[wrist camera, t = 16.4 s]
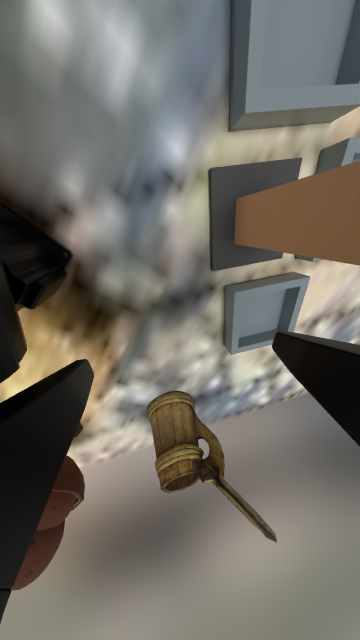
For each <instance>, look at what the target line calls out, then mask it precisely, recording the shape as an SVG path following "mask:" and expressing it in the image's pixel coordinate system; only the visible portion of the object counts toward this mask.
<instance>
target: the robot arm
mask: <svg viewBox="0 0 360 640" xmlns="http://www.w3.org/2000/svg"><path fill="white" fill-rule="evenodd" d="M63 252H66V253H67V254H68V257H66V256H64V254H63ZM71 258H72V253H71V251H70V250H69V249H67V248H66V247H64V246H63V245H61V244H60V243H58V242H57V241H55V240H54V239H52V238H51V237H49V236H48V235H47V234H45V233H44V232H42V231H41V230H39V229H38V228H36V227H35V226H33V225H32V224H30V223H29V222H27V221H26V220H25V219H23V218H22V217H20V216H19V215H17V214H16V213H14V212H13V211H11V210H10V209H8V208H7V207H5V206H4V205H3V204H1V203H0V383H1V382H3V381H4V380H6V379H7V378H9V377H10V376H11V375H12V374H13V373H15V372H16V371H17V370H18V369H19V368H20V366H19V362H20V361H21V360H22V358H23V356H24V355H25V353H26V351H27V344H26V339H25V336H24V332H23V329H22V325H21V322H20V318H19V315H18V312H17V311H19V310H20V309H22V308H23V307H25V308H27V309H35V308H36V307H37V306H39V305H40V304H41V303H43V302H44V301H45V300H47V299H48V298H49V297H51V296H52V295H54V294H55V293H56V291H57V290H58V288H59V287H60V285H61V283H62V282H63V280H64V278H65V277H66V272H65V271H64V270H65V268H66V266H67V265H68V263H69V262H70V260H71ZM272 348H273V350H274V352H275V353H276V354H277V356H278V357H279V358H280V359H281V361H282V362H283V363H284V365H285V366H286V367H287V369H288V370H289V371H290V372H291V373H292V375H293V376H294V377H295V378H296V379H297V380H298V381H299V382H300V383H301V384H302V385H303V386H304V387H305V389H306V390H307V391H308V392H309V393H310V394H311V395H312V396H313V397H314V398H315V399H316V400H317V401H318V402H319V404H320V405H321V406H322V407H323V408H324V409H325V410H326V411H327V412H328V413H329V414H330V415H331V416H332V417H333V418H334V420H335V421H336V422H337V423H338V424H339V425H340V426H341V427H342V428H343V429H344V430H345V431H346V432H347V433H348V435H349V436H350V437H351V438H352V439H353V440H354V441H355V442H356V443H357V444H358V445H359V446H360V345H357V344H352V343H346V342H341V341H336V340H331V339H325V338H320V337H315V336H310V335H304V334H299V333H294V332H289V331H279V332H277V333H276V334H275V337H274V340H273V343H272ZM93 379H94V372H93V370H92V368H91V366H90V363H89V361H88V360H87V359H82V360H77V361H74V362H73V363H71V364H69V365H67V366H66V367H64V368H62V369H60V370H58V371H57V372H55V373H53V374H51V375H50V376H48V377H46V378H44V379H42V380H41V381H39V382H37V383H35V384H34V385H32V386H30V387H28V388H26V389H25V390H23V391H21V392H19V393H17V394H16V395H14V396H12V397H10V398H9V399H7V400H5V401H3V402H1V403H0V623H1V620H2V616H3V613H4V610H5V607H6V604H7V602H8V599H9V596H10V594H11V591H12V590H11V589H12V588H13V586H14V584H15V581H16V579H17V576H18V574H19V571H20V569H21V566H22V564H23V561H24V559H25V557H26V554H27V552H28V549H29V547H30V544H31V542H32V539H33V537H34V534H35V532H36V529H37V527H38V524H39V522H40V519H41V517H42V514H43V512H44V509H45V507H46V504H47V502H48V499H49V497H50V494H51V492H52V489H53V487H54V484H55V482H56V480H57V477H58V475H59V472H60V470H61V467H62V465H63V462H64V460H65V457H66V455H67V452H68V450H69V447H70V445H71V442H72V440H73V437H74V435H75V432H76V430H77V427H78V425H79V422H80V420H81V417H82V415H83V412H84V410H85V407H86V404H87V400H88V397H89V393H90V389H91V386H92V382H93Z"/></svg>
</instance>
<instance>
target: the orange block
mask: <svg viewBox="0 0 360 640" xmlns="http://www.w3.org/2000/svg"><path fill="white" fill-rule="evenodd" d="M234 244H237V245H243V246H249V247H255V248H261V249H267V250H273V251H278V252H284V253H290V254H296V255H302V256H308V257H314V258H319V259H325V260H331V261H337V262H343V263H349V264H354V265H360V161H357V162H354V163H350V164H347V165H344V166H341V167H338V168H334V169H331V170H328V171H325V172H322V173H318V174H315V175H312V176H309V177H305V178H302V179H299V180H296V181H293V182H289V183H286V184H283V185H280V186H277V187H273V188H270V189H267V190H264V191H261V192H257V193H254V194H251V195H248V196H244V197H241V198H238V199H236V216H235V236H234Z"/></svg>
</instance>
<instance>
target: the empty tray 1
mask: <svg viewBox="0 0 360 640" xmlns="http://www.w3.org/2000/svg"><path fill="white" fill-rule="evenodd" d="M359 106H360V0H232V15H231V57H230V100H229V131H238V130H249V129H261V128H272V127H283V126H294V125H305V124H316V123H327V122H332V121H334V120H336V119H338V118H339V117H341V116H343V115H345V114H347V113H348V112H350V111H352V110H354V109H355V108H357V107H359Z"/></svg>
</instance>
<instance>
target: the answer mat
mask: <svg viewBox="0 0 360 640" xmlns="http://www.w3.org/2000/svg"><path fill="white" fill-rule="evenodd" d="M301 161H302V158H294V159H285V160H277V161H268V162H259V163H251V164H242V165H233V166H225V167H216V168H211V169H210V170H209V197H210V240H211V270H212V271H216V270H222V269H227V268H232V267H237V266H243V265H248V264H253V263H258V262H264V261H269V260H274V259H280V258H282V255H283V252H278V251H273V250H267V249H261V248H255V247H249V246H243V245H237V244H234V236H235V216H236V199H238V198H241V197H244V196H248V195H251V194H254V193H257V192H261V191H264V190H267V189H270V188H273V187H277V186H280V185H283V184H286V183H289V182H293V181H296V180H298V176H299V171H300V166H301Z"/></svg>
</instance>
